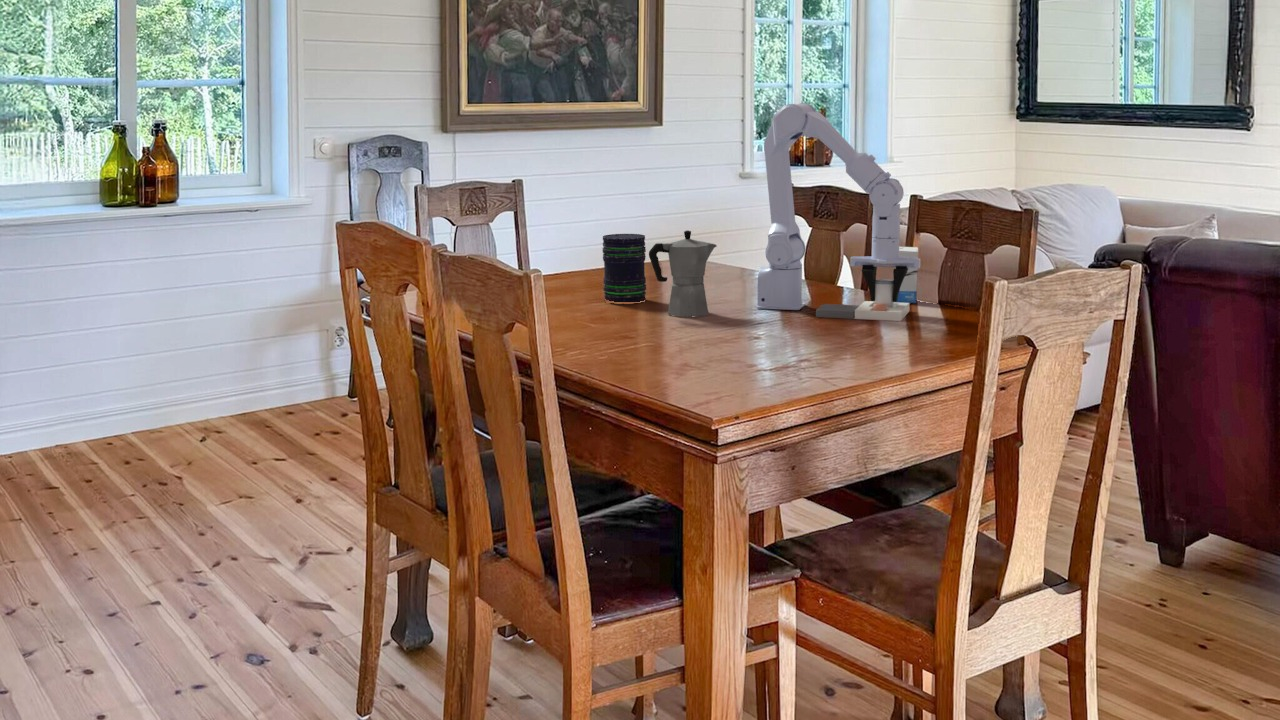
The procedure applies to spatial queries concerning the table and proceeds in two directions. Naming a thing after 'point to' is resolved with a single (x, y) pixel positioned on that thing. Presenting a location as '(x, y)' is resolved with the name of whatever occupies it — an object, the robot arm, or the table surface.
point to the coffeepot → (685, 274)
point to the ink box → (908, 277)
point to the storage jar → (624, 267)
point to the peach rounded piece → (879, 307)
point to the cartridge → (884, 292)
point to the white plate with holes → (882, 312)
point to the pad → (836, 311)
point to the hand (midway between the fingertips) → (884, 300)
